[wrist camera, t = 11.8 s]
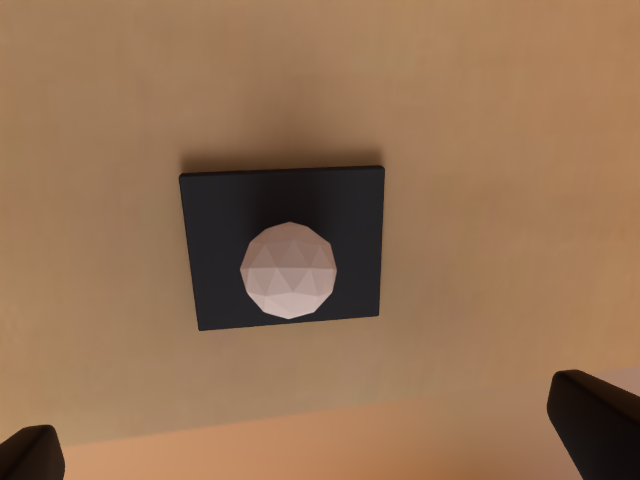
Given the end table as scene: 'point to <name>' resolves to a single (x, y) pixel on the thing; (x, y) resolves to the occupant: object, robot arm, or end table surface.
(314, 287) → the polyhedron
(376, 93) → the end table surface
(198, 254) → the mat
